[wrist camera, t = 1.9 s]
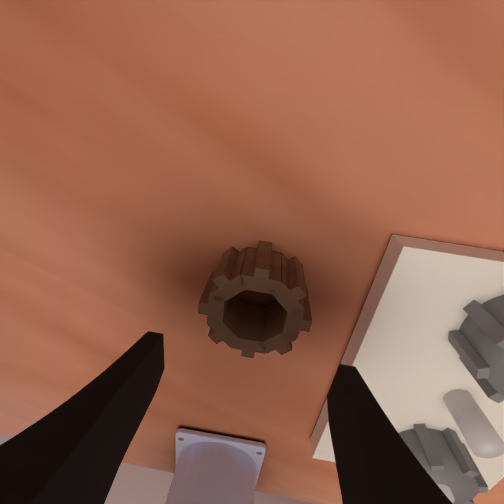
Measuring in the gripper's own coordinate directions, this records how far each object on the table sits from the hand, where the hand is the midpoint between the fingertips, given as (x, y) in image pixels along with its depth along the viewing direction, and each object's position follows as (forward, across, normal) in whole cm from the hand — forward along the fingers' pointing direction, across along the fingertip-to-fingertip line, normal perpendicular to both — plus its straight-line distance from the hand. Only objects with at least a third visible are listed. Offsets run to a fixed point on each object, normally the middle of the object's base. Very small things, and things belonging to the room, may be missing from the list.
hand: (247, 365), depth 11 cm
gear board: (+6, -14, +5) cm, 16 cm away
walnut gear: (+6, 0, 0) cm, 6 cm away
